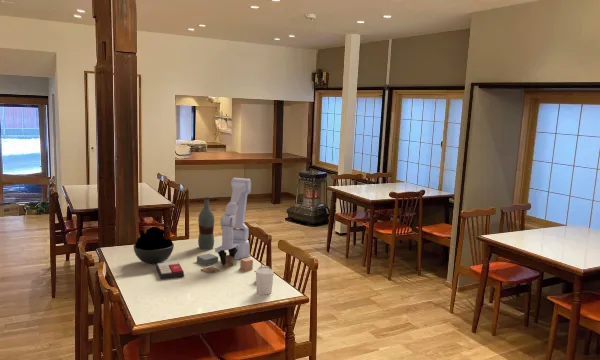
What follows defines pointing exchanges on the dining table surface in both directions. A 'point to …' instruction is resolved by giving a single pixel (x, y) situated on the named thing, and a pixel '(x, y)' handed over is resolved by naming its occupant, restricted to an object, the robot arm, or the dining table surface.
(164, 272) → the black and red box
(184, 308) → the dining table surface
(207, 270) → the tile
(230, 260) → the walnut block
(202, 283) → the dining table surface
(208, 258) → the base block
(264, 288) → the white cylinder
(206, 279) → the dining table surface
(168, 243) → the coal bowl
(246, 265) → the terracotta block
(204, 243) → the bottle
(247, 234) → the robot arm
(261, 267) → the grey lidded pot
